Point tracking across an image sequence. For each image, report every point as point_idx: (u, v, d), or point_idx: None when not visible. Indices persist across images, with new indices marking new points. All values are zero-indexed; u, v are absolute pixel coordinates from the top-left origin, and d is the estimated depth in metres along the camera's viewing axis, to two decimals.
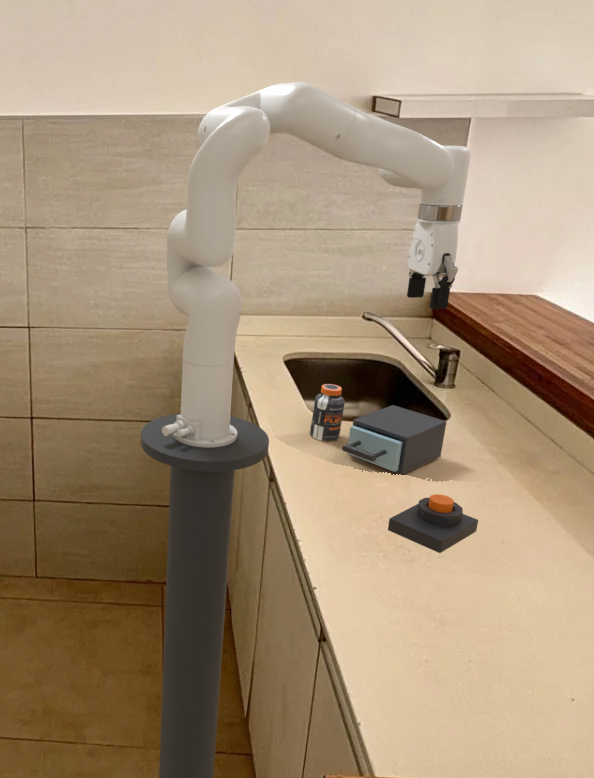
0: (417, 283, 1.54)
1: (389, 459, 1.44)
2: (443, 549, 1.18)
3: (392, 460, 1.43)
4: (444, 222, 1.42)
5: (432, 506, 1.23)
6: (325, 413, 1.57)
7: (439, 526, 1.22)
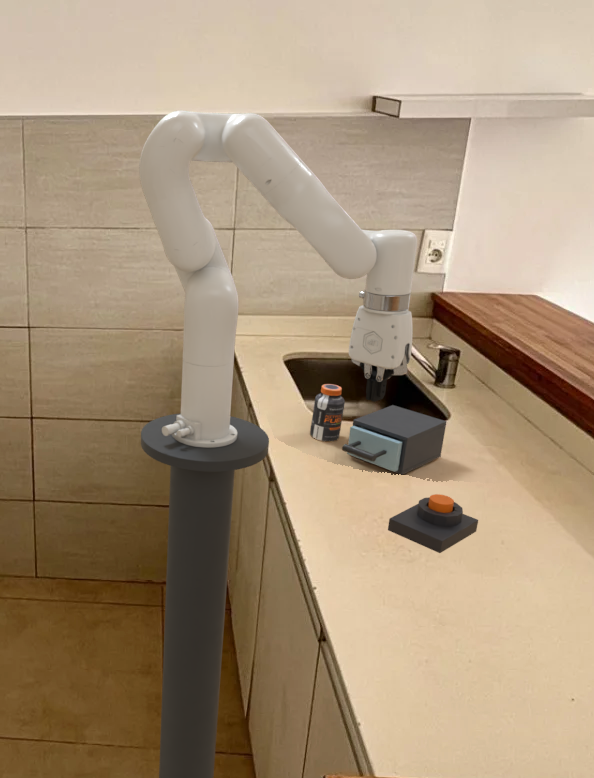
0: None
1: (389, 459, 1.44)
2: (443, 549, 1.18)
3: (392, 460, 1.43)
4: (402, 312, 1.32)
5: (432, 506, 1.23)
6: (325, 413, 1.57)
7: (439, 526, 1.22)
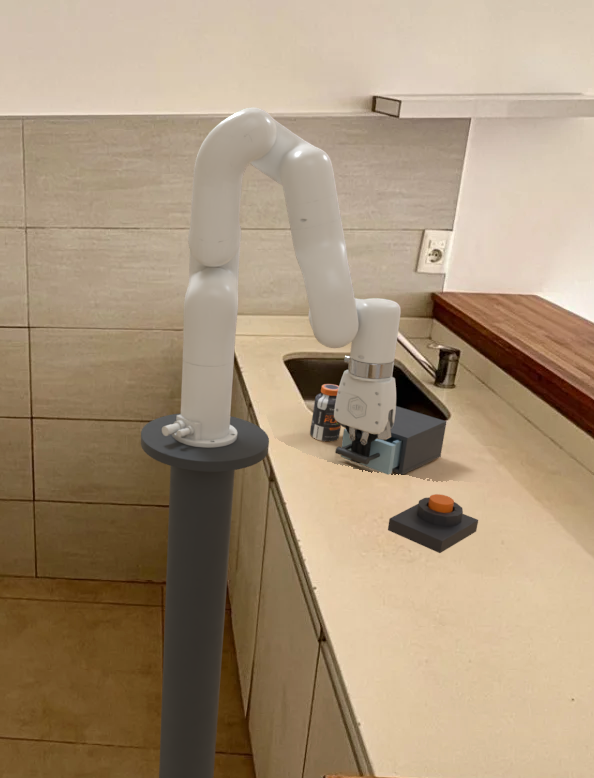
0: None
1: (383, 462, 1.42)
2: (443, 549, 1.18)
3: (386, 463, 1.42)
4: (386, 379, 1.35)
5: (432, 506, 1.23)
6: (325, 413, 1.57)
7: (439, 526, 1.22)
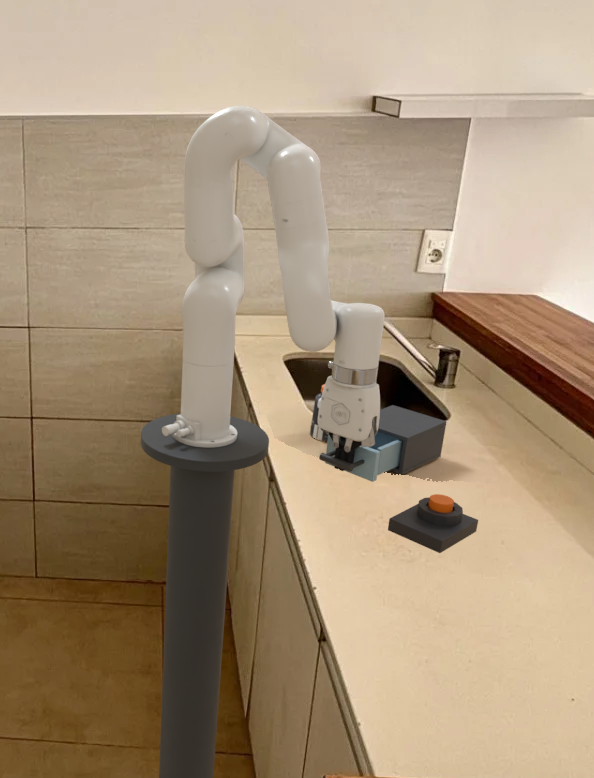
0: None
1: (367, 469, 1.40)
2: (443, 549, 1.18)
3: (370, 470, 1.39)
4: (369, 385, 1.33)
5: (432, 506, 1.23)
6: None
7: (439, 526, 1.22)
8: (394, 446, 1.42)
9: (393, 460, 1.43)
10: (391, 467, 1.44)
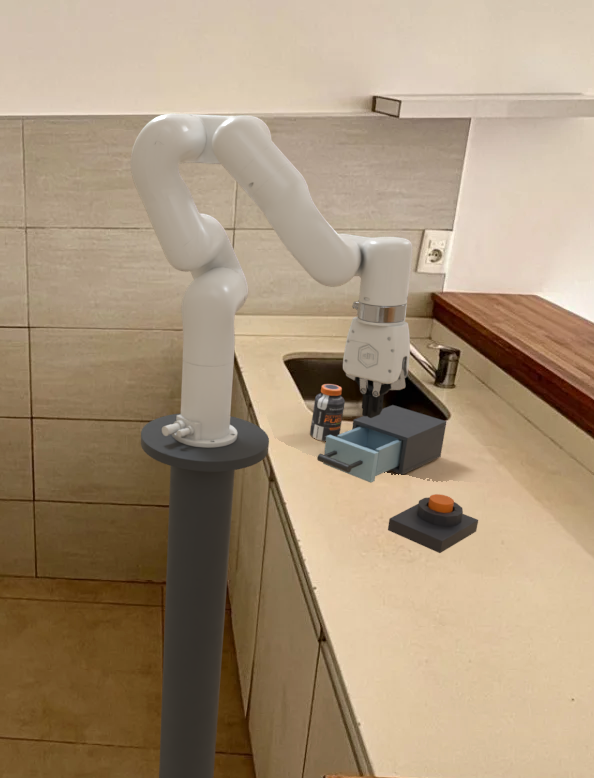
0: None
1: (365, 470, 1.39)
2: (443, 549, 1.18)
3: (368, 471, 1.39)
4: (398, 323, 1.25)
5: (432, 506, 1.23)
6: (325, 413, 1.57)
7: (439, 526, 1.22)
8: (392, 447, 1.42)
9: (391, 461, 1.43)
10: (389, 468, 1.43)
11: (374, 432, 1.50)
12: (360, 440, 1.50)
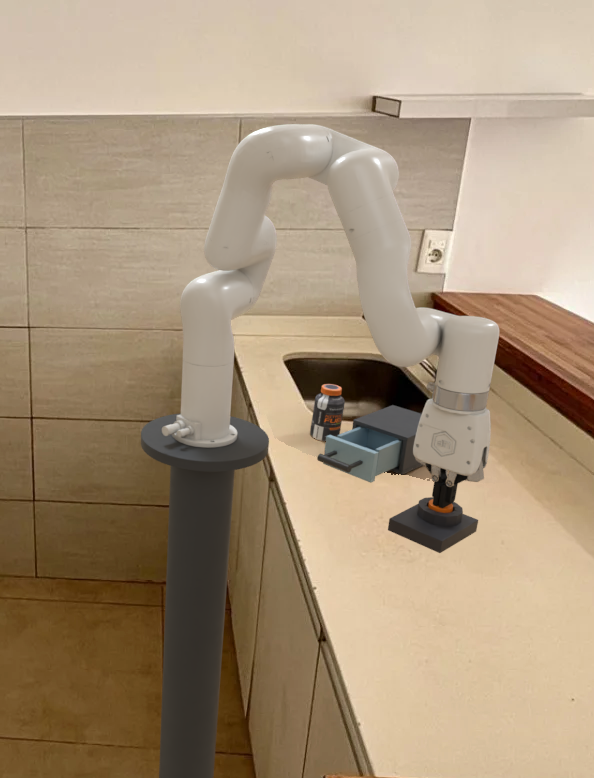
0: None
1: (365, 470, 1.39)
2: (443, 549, 1.18)
3: (368, 471, 1.39)
4: (480, 411, 1.15)
5: None
6: (325, 413, 1.57)
7: (439, 526, 1.22)
8: (392, 447, 1.42)
9: (391, 461, 1.43)
10: (389, 468, 1.43)
11: (374, 432, 1.50)
12: (360, 440, 1.50)
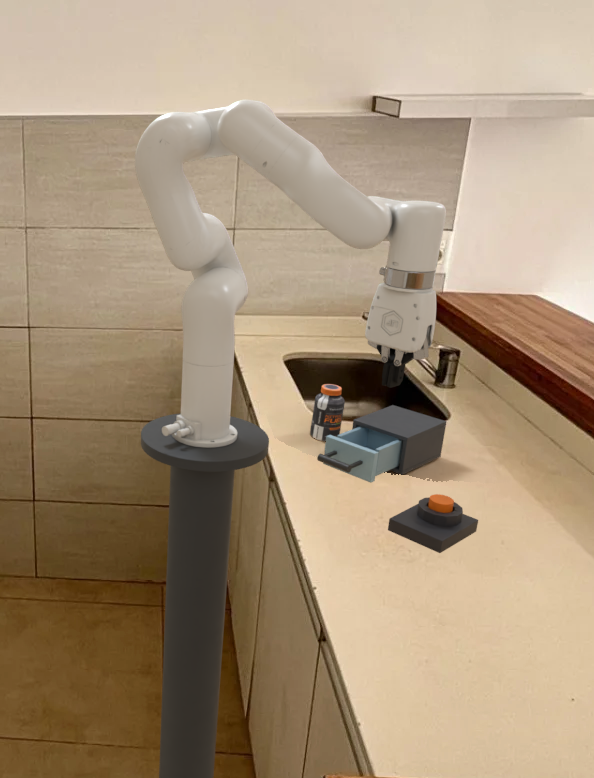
0: None
1: (365, 470, 1.39)
2: (443, 549, 1.18)
3: (368, 471, 1.39)
4: (426, 290, 1.22)
5: (432, 506, 1.23)
6: (325, 413, 1.57)
7: (439, 526, 1.22)
8: (392, 447, 1.42)
9: (391, 461, 1.43)
10: (389, 468, 1.43)
11: (374, 432, 1.50)
12: (360, 440, 1.50)
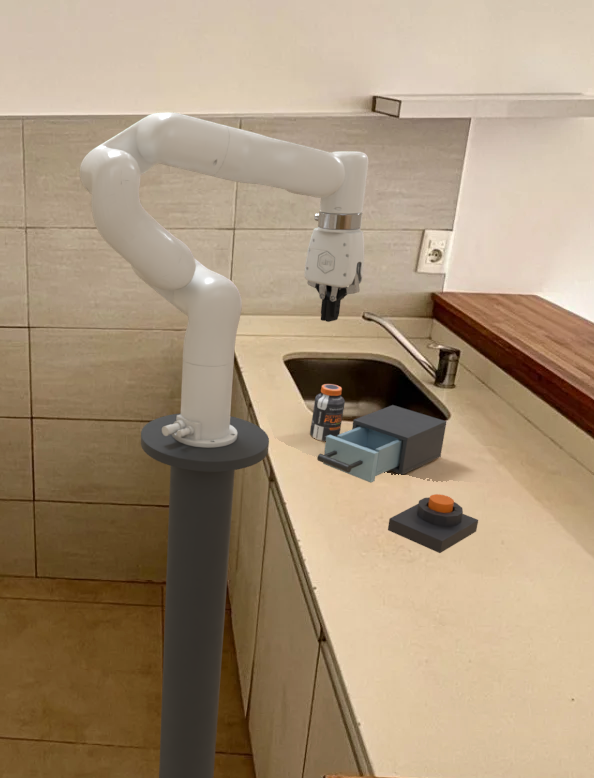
0: None
1: (365, 470, 1.39)
2: (443, 549, 1.18)
3: (368, 471, 1.39)
4: (354, 230, 1.37)
5: (432, 506, 1.23)
6: (325, 413, 1.57)
7: (439, 526, 1.22)
8: (392, 447, 1.42)
9: (391, 461, 1.43)
10: (389, 468, 1.43)
11: (374, 432, 1.50)
12: (360, 440, 1.50)
